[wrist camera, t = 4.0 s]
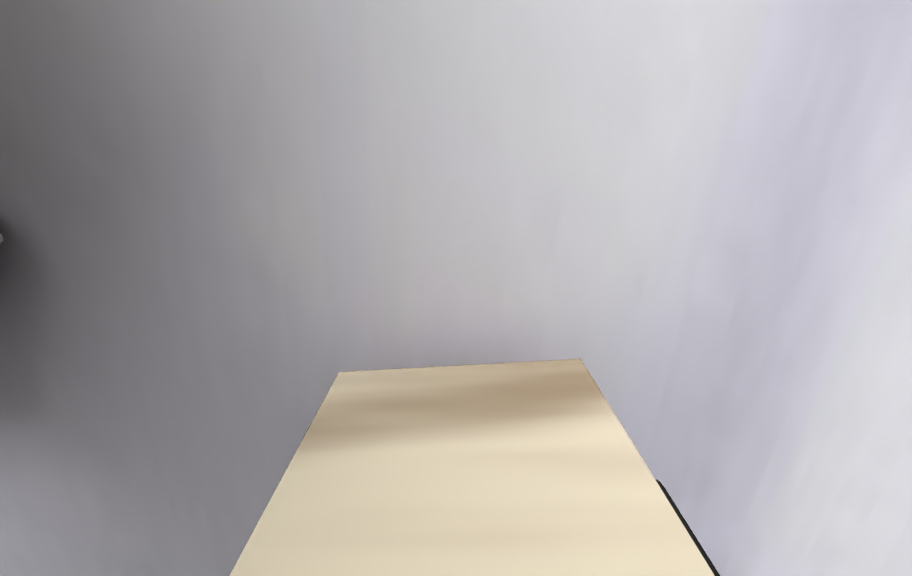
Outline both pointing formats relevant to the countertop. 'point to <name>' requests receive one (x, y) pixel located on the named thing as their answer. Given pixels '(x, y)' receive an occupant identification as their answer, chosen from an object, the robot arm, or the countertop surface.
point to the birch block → (469, 482)
